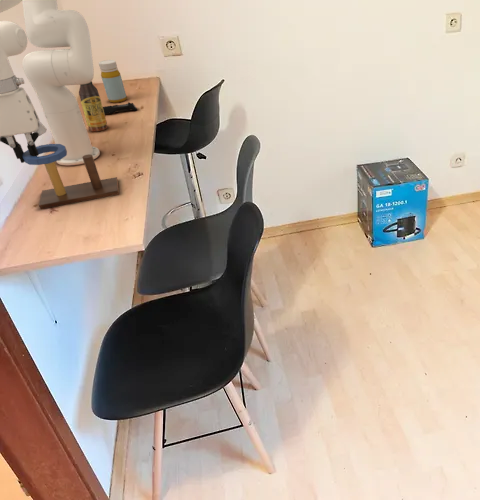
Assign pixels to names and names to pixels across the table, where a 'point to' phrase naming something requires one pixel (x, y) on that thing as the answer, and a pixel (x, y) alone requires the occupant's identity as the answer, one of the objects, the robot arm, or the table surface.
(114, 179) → the rack
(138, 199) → the table surface
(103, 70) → the bottle
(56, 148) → the ring
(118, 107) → the electric trimmer
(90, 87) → the sauce bottle
